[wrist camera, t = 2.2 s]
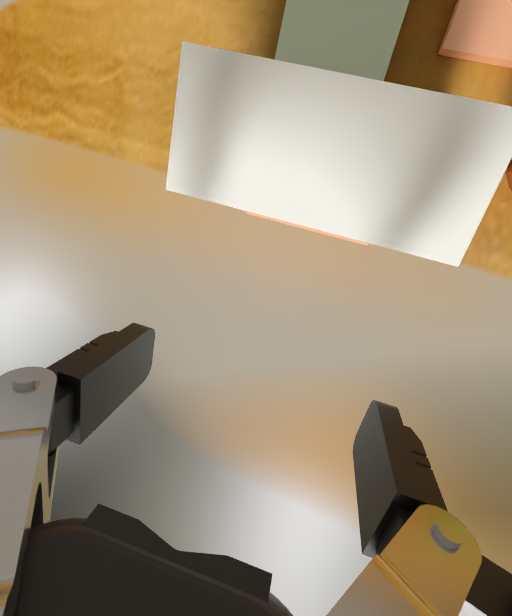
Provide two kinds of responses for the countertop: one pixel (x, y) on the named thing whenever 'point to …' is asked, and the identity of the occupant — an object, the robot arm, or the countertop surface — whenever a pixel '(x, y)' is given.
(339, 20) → the sage tile
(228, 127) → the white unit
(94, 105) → the countertop surface
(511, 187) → the carrot
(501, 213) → the countertop surface
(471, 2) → the terracotta tile
